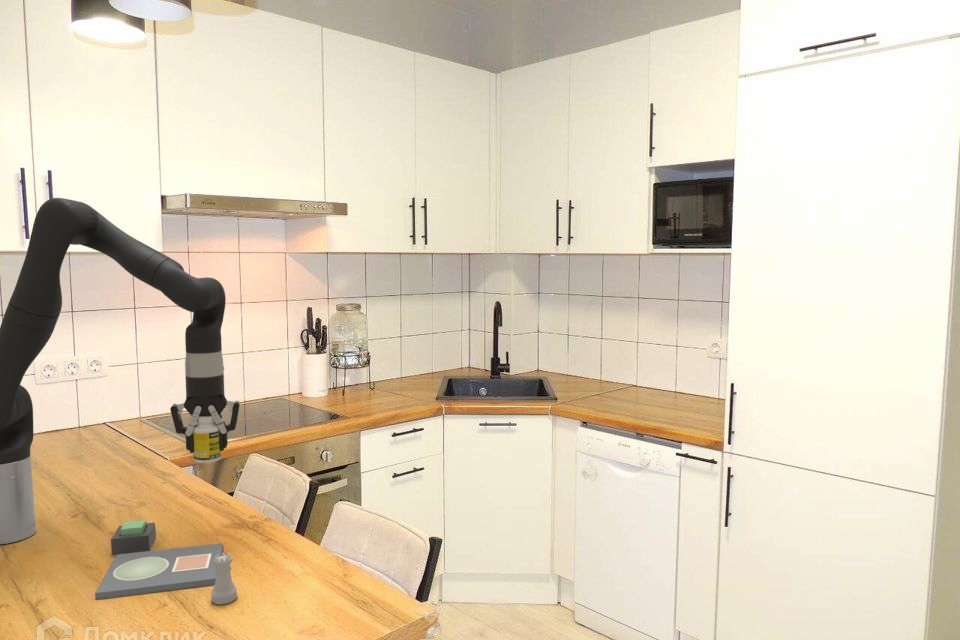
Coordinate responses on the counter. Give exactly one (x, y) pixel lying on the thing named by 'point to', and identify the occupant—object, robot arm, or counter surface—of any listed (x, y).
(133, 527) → the button
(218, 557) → the rook chess piece
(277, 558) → the counter surface
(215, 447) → the supplement bottle
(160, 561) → the picture board
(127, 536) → the button housing
